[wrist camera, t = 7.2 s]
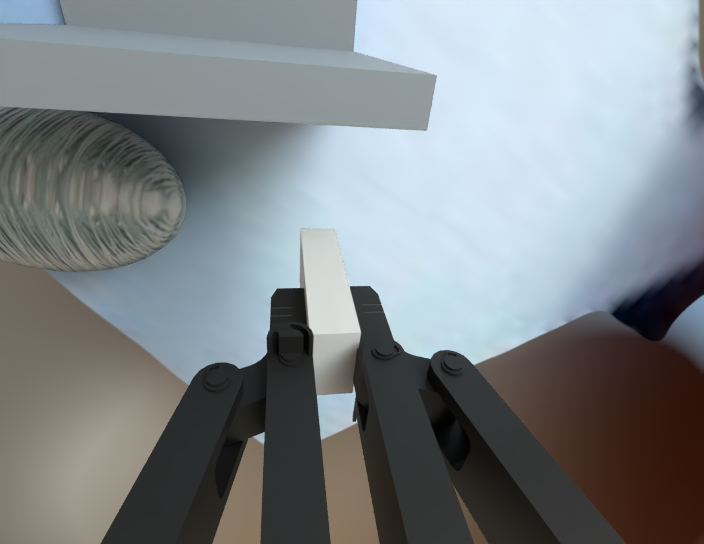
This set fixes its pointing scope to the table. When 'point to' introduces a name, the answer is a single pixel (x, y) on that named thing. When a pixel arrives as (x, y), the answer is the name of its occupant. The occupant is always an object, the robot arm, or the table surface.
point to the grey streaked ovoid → (82, 192)
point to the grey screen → (211, 64)
